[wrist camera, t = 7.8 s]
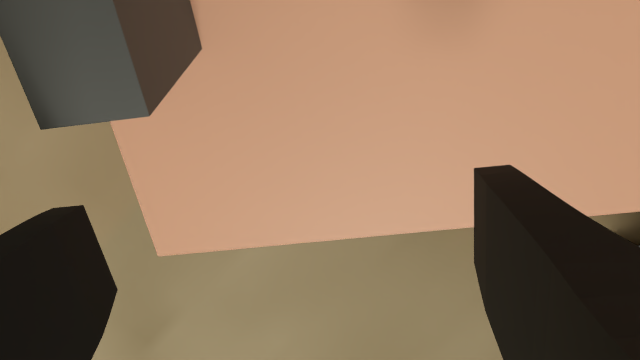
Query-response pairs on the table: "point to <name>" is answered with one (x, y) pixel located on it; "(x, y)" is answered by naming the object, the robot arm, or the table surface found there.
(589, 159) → the lid
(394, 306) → the table surface
